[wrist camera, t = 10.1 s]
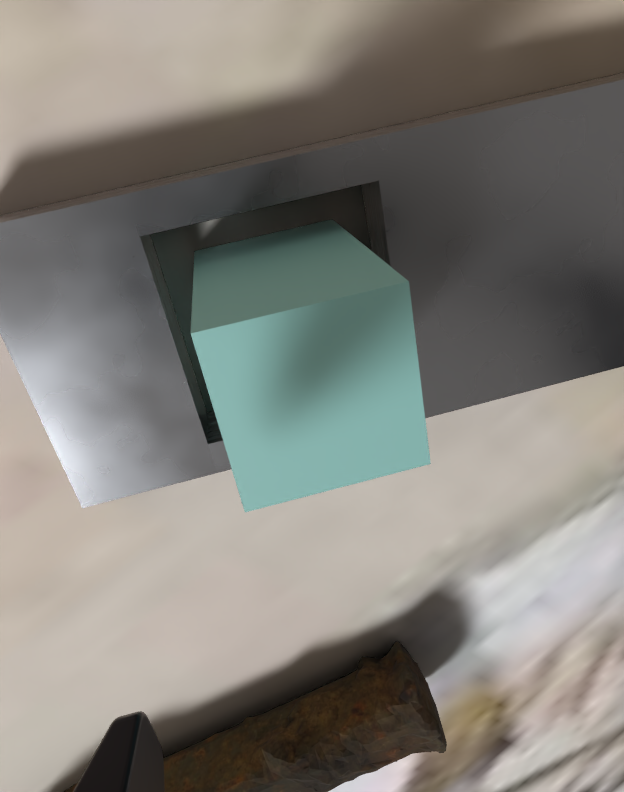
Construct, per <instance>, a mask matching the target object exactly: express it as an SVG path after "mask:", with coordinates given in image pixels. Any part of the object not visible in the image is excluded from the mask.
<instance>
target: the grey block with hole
mask: <svg viewBox="0 0 624 792" xmlns="http://www.w3.org/2000/svg"><path fill="white" fill-rule="evenodd" d="M357 185H361V186H362V193H363V199H364V206H365V212H366V219H367V226H368V232H369V239H370V245H371V251H372V252H373V253H375V254H376V255H377V256H378V257H379V258H381V259H382V260H383V261H384V262H386V263H387V264H388V265H389V266H391V267H392V268H393V269H394V270H396V271H397V272H398V273H399V274H400V275H402V276H403V277H404V278H405V279H407V280H408V281H409V287H410V296H411V304H412V312H413V321H414V329H415V338H416V346H417V354H418V363H419V371H420V380H421V388H422V396H423V405H424V413H425V418H428V417H432V416H435V415H439V414H443V413H447V412H451V411H454V410H458V409H462V408H466V407H470V406H473V405H477V404H481V403H485V402H489V401H492V400H496V399H500V398H504V397H508V396H512V395H515V394H519V393H523V392H527V391H531V390H534V389H538V388H542V387H546V386H550V385H553V384H557V383H561V382H565V381H569V380H572V379H576V378H580V377H584V376H588V375H591V374H595V373H599V372H603V371H607V370H611V369H614V368H618V367H622V366H624V73H620V74H615V75H611V76H607V77H602V78H598V79H594V80H589V81H585V82H580V83H576V84H572V85H567V86H563V87H559V88H554V89H550V90H546V91H541V92H537V93H532V94H528V95H524V96H519V97H515V98H511V99H506V100H502V101H498V102H493V103H489V104H485V105H480V106H476V107H471V108H467V109H463V110H458V111H454V112H450V113H445V114H441V115H437V116H432V117H428V118H423V119H419V120H415V121H410V122H406V123H402V124H397V125H393V126H389V127H384V128H380V129H375V130H371V131H367V132H362V133H358V134H354V135H349V136H345V137H341V138H336V139H332V140H327V141H323V142H319V143H314V144H310V145H306V146H301V147H297V148H293V149H288V150H284V151H280V152H275V153H271V154H266V155H262V156H258V157H253V158H249V159H245V160H240V161H236V162H232V163H227V164H223V165H218V166H214V167H210V168H205V169H201V170H197V171H192V172H188V173H184V174H179V175H175V176H170V177H166V178H162V179H157V180H153V181H149V182H144V183H140V184H136V185H131V186H127V187H123V188H118V189H114V190H109V191H105V192H101V193H96V194H92V195H88V196H83V197H79V198H75V199H70V200H66V201H61V202H57V203H53V204H48V205H44V206H40V207H35V208H31V209H27V210H22V211H18V212H13V213H9V214H5V215H0V334H1V336H2V338H3V340H4V343H5V345H6V347H7V349H8V351H9V353H10V355H11V357H12V360H13V362H14V364H15V366H16V368H17V370H18V372H19V375H20V377H21V379H22V381H23V383H24V385H25V387H26V389H27V392H28V394H29V396H30V398H31V400H32V402H33V404H34V406H35V409H36V411H37V413H38V415H39V417H40V419H41V421H42V423H43V426H44V428H45V430H46V432H47V434H48V436H49V438H50V440H51V443H52V445H53V447H54V449H55V451H56V453H57V455H58V457H59V460H60V462H61V464H62V466H63V468H64V470H65V472H66V474H67V477H68V479H69V481H70V483H71V485H72V487H73V489H74V491H75V494H76V496H77V498H78V500H79V502H80V504H81V506H82V508H85V507H89V506H93V505H96V504H100V503H104V502H108V501H112V500H115V499H119V498H123V497H127V496H131V495H134V494H138V493H142V492H146V491H150V490H153V489H157V488H161V487H165V486H169V485H173V484H176V483H180V482H184V481H188V480H192V479H195V478H199V477H203V476H207V475H211V474H214V473H218V472H222V471H226V470H230V469H232V468H231V465H230V461H229V458H228V455H227V452H226V448H225V445H224V442H223V438H222V435H221V432H220V429H219V425H218V422H217V419H216V415H215V412H214V411H213V412H209V413H207V411H206V408H205V405H204V402H203V398H202V395H201V392H200V389H199V386H198V383H197V380H196V376H195V373H194V370H193V367H192V364H191V361H190V358H189V355H188V351H187V348H186V345H185V342H184V339H183V336H182V333H181V330H180V326H179V323H178V320H177V317H176V314H175V311H174V308H173V305H172V301H171V298H170V295H169V292H168V289H167V286H166V283H165V279H164V276H163V273H162V270H161V267H160V264H159V261H158V258H157V254H156V251H155V248H154V245H153V242H152V239H151V236H150V234H153V233H157V232H161V231H166V230H170V229H174V228H178V227H183V226H187V225H191V224H195V223H200V222H204V221H208V220H212V219H217V218H221V217H225V216H229V215H234V214H238V213H242V212H246V211H251V210H255V209H259V208H263V207H268V206H272V205H276V204H280V203H285V202H289V201H293V200H298V199H302V198H306V197H310V196H315V195H319V194H323V193H327V192H332V191H336V190H340V189H344V188H349V187H353V186H357Z"/></svg>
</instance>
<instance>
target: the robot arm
mask: <svg viewBox="0 0 624 792" xmlns="http://www.w3.org/2000/svg"><path fill="white" fill-rule="evenodd" d="M73 792H165V785H164V759H163V752H162V748H161V745H160V742H159V740H158V738H157V736H156V734H155V732H154V730H153V728H152V726H151V723H150V721H149V719H148V717H147V716H146V714H145V713H144V712H135V713H131V714H128V715H124V716H120V717H118V718H116V719H115V720H114V721H113V722H112V724H111V725H110V727H109V729H108V731H107V732H106V734H105V736H104V738H103V739H102V741H101V743H100V745H99V747H98V748H97V750H96V752H95V754H94V755H93V757H92V759H91V761H90V762H89V764H88V766H87V768H86V769H85V771H84V773H83V775H82V777H81V778H80V780H79V782H78V784H77V785H76V787H75V789H74V791H73Z"/></svg>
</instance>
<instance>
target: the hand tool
mask: <svg viewBox="0 0 624 792" xmlns="http://www.w3.org/2000/svg"><path fill="white" fill-rule="evenodd" d="M446 745H447V744H446V739H445V735H444V732H443V728H442V725H441V721H440V718H439V714H438V711H437V707H436V704H435V702H434V700H433V697H432V695H431V692H430V689H429V686H428V683H427V681H426V680H425V678H424V676H423V675H422V673H421V671H420V669H419V667H418V665H417V663H416V662H415V661H414V660H413V659H412V657H411V656H410V654H409V653H408V651H407V650H406V649H405V647H404V646H403V645H402V644H401V643H400V642H399V641H397V642H395V643H394V645H393V647H392V648H391V650H390V651H389V652H388V654H387V655H386V656H385V657H383V658H382V659H379V658H371V657H362V658H361V660H360V661H359V664H358V669H357V670H356V671H354V672H352V673H351V674H349V675H347V676H344V677H342V678H340V679H338V680H336V681H334V682H331V683H329V684H327V685H325V686H322V687H320V688H318V689H316V690H314V691H312V692H310V693H307V694H305V695H303V696H301V697H299V698H297V699H295V700H292V701H290V702H288V703H286V704H284V705H281V706H279V707H276V708H274V709H272V710H270V711H268V712H265V713H263V714H260V715H256V716H253V717H247V718H246V719H245V720H244V721H243V722H242V723H240V724H238V725H237V726H235V727H231V728H229V729H227V730H225V731H222V732H219V733H216V734H214V735H212V736H211V737H209V738H207V739H205V740H203V741H201V742H199V743H196V744H194V745H192V746H190V747H187V748H185V749H183V750H181V751H179V752H176V753H174V754H172V755H170V756H168V757H166V758H164V785H165V792H328V791H330V790H332V789H334V788H335V787H337V786H339V785H340V784H342V783H344V782H347V781H351V780H354V779H355V778H357V777H358V776H360V775H363V774H366V773H371V772H374V771H377V770H378V769H380V768H382V767H383V766H386V765H388V764H391V763H393V762H395V761H396V762H397V760H400V759H402V758H404V757H406V756H408V755H410V754H412V753H421V752H431V751H438V752H439V753H444V752H445V751H446ZM77 784H78V783H76V784H74V785H73V786H71V787H70V788H69V789H67V790H66V791H64V792H73V791H74V789H75V787H76V785H77Z"/></svg>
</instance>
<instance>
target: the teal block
mask: <svg viewBox="0 0 624 792" xmlns="http://www.w3.org/2000/svg"><path fill="white" fill-rule="evenodd" d="M191 337H192V340H193V343H194V347H195V350H196V353H197V356H198V360H199V363H200V366H201V369H202V373H203V376H204V379H205V383H206V386H207V389H208V392H209V396H210V399H211V402H212V406H213V409H214V412H215V415H216V419H217V422H218V425H219V429H220V432H221V435H222V438H223V442H224V445H225V448H226V452H227V455H228V458H229V461H230V465H231V468H232V471H233V475H234V478H235V481H236V484H237V488H238V491H239V494H240V497H241V501H242V504H243V507H244V511H245V512H248V511H252V510H256V509H260V508H263V507H267V506H271V505H275V504H279V503H283V502H286V501H290V500H294V499H298V498H302V497H306V496H309V495H313V494H317V493H321V492H325V491H328V490H332V489H336V488H340V487H344V486H348V485H351V484H355V483H359V482H363V481H367V480H371V479H374V478H378V477H382V476H386V475H390V474H394V473H397V472H401V471H405V470H409V469H413V468H416V467H420V466H424V465H428V464H431V463H430V455H429V447H428V438H427V430H426V421H425V413H424V405H423V396H422V388H421V380H420V371H419V363H418V354H417V346H416V338H415V329H414V321H413V312H412V304H411V296H410V287H409V281H408V280H407V279H405V278H404V277H403V276H402V275H400V274H399V273H398V272H397V271H396V270H394V269H393V268H392V267H391V266H389V265H388V264H387V263H386V262H384V261H383V260H382V259H381V258H379V257H378V256H377V255H376V254H375V253H373V252H372V251H371V250H370V249H368V248H367V247H366V246H365V245H363V244H362V243H361V242H360V241H358V240H357V239H356V238H355V237H354V236H352V235H351V234H350V233H349V232H347V231H346V230H345V229H344V228H342V227H341V226H340V225H339V224H337V223H336V222H335V221H334V220H333V219H332V220H327V221H323V222H319V223H314V224H310V225H306V226H301V227H297V228H293V229H288V230H284V231H280V232H275V233H271V234H267V235H262V236H258V237H254V238H249V239H245V240H241V241H236V242H232V243H228V244H223V245H219V246H215V247H210V248H206V249H202V250H197V251H195V254H194V274H193V294H192V315H191Z"/></svg>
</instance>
